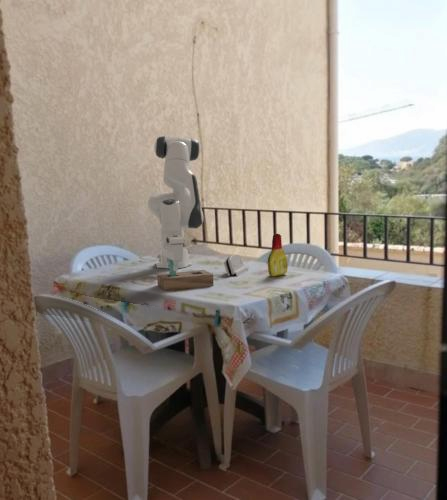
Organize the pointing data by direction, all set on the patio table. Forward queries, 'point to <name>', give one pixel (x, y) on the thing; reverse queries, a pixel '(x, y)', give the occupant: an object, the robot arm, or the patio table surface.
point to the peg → (171, 268)
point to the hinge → (234, 265)
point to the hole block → (185, 280)
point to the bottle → (277, 258)
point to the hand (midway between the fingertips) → (172, 268)
